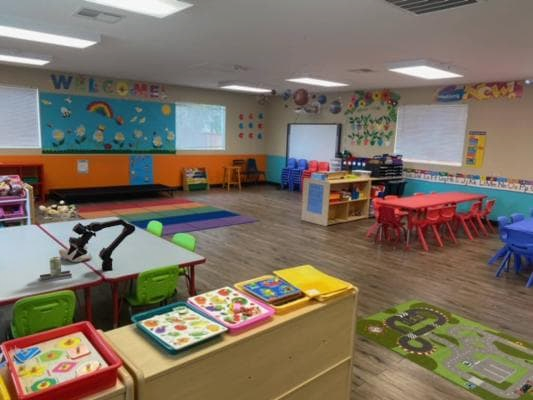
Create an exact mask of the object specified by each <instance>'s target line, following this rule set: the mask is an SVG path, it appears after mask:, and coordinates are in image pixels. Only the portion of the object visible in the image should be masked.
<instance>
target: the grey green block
mask: <svg viewBox="0 0 533 400" xmlns="http://www.w3.org/2000/svg"><path fill="white" fill-rule="evenodd" d="M61 259H62V258H61V256H59V257H51V258H49V270H50V271H49V272H50V273H49V274H50V275H51V276H57V275H61V272H62V260H61Z"/></svg>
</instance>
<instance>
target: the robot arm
mask: <svg viewBox="0 0 533 400" xmlns="http://www.w3.org/2000/svg"><path fill="white" fill-rule="evenodd" d="M118 226H123V228H122V231H121V232H120V233H119V234H118V236H117V237H116V238H115V239H114V240H113V241H112V242H111V243H110V244H109V245H108V246H107V247H103V248H102V249H101V250H99V253H98V257H99V259H101V260H102V261H101V270H102V271H103V272H108V271H113V261H114V259H113V258H112V254H113V252H114V251H115V250H116V249H117V248H118V246H120V244H121V243H122V242H123V241H124V240H125V239H126V238H127V237H128V236H130V235H132V234H133V233H135V231H136V226H135V225H133V223H131V222H130V223H128V222H127V221H125V220H124V219H123V218H119V219H112V220H107V221H103V222H99V221H96V222H95V221H93V222H90V223H89V224H87V225H83V224H82V223H80V222H78V223H77V224H76V225H74V226H73V227H72V231H71V232H74V233H75V234H77V235H79V236H78V237H74V236H73V237H72V236H70V237H69V238H68V241H67V242H69V248H68V249H69V251H68V253H67V255H70V254H71V253H72V252H74V251H75V250H76V253H75V255H74V256H73V258H72V260H74V259H76V258H78V257H80V256H82V255H84V254H85V255H87V254H88V250H87V249H84V248H85V247H84V246H85V245H86V246H87V244H88V245H89V241H90V240H91V238H93V237H94V238H96V237H97V234H96V233H97V232H100V231H102V230H104V229H108V228H112V227H118Z"/></svg>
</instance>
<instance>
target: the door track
mask: <svg viewBox="0 0 533 400" xmlns="http://www.w3.org/2000/svg"><path fill="white" fill-rule="evenodd" d="M67 278H68V279H72V278H73V275H72V272H71V271H70V270H69V269H68V270H64V271H62V270H61V275H57V276H51V275H50V273H43V274H40V275H39V279H40V281H41V283H42V284H44V283H49V282H50V283H51V282H54V281H61V280H62V281H63V280H66V279H67Z"/></svg>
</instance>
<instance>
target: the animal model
mask: <svg viewBox="0 0 533 400" xmlns="http://www.w3.org/2000/svg"><path fill="white" fill-rule="evenodd" d="M84 247H85V248H84V249H86V250H87V249H88V246H87V244H86V245H85V246H84ZM76 250H77V249H76ZM76 250H75V251H74V252H72V253H71V254H70V255H67V253H68V251H69V248H68V249H59V250H58V254H59V255H60V256H59V257H60V259H62V258H63V259H64V260H68V261H71V262H72V263H80V262H84V261H86V260H89V259H90V260H91V259H93V255H92V253H90V252H89V253H88V255H87V254H86V255H85V254H84V255H82V256H80V257H78V258H76V259H74V260H72V258H73V256H74V255H75V253H76Z"/></svg>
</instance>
